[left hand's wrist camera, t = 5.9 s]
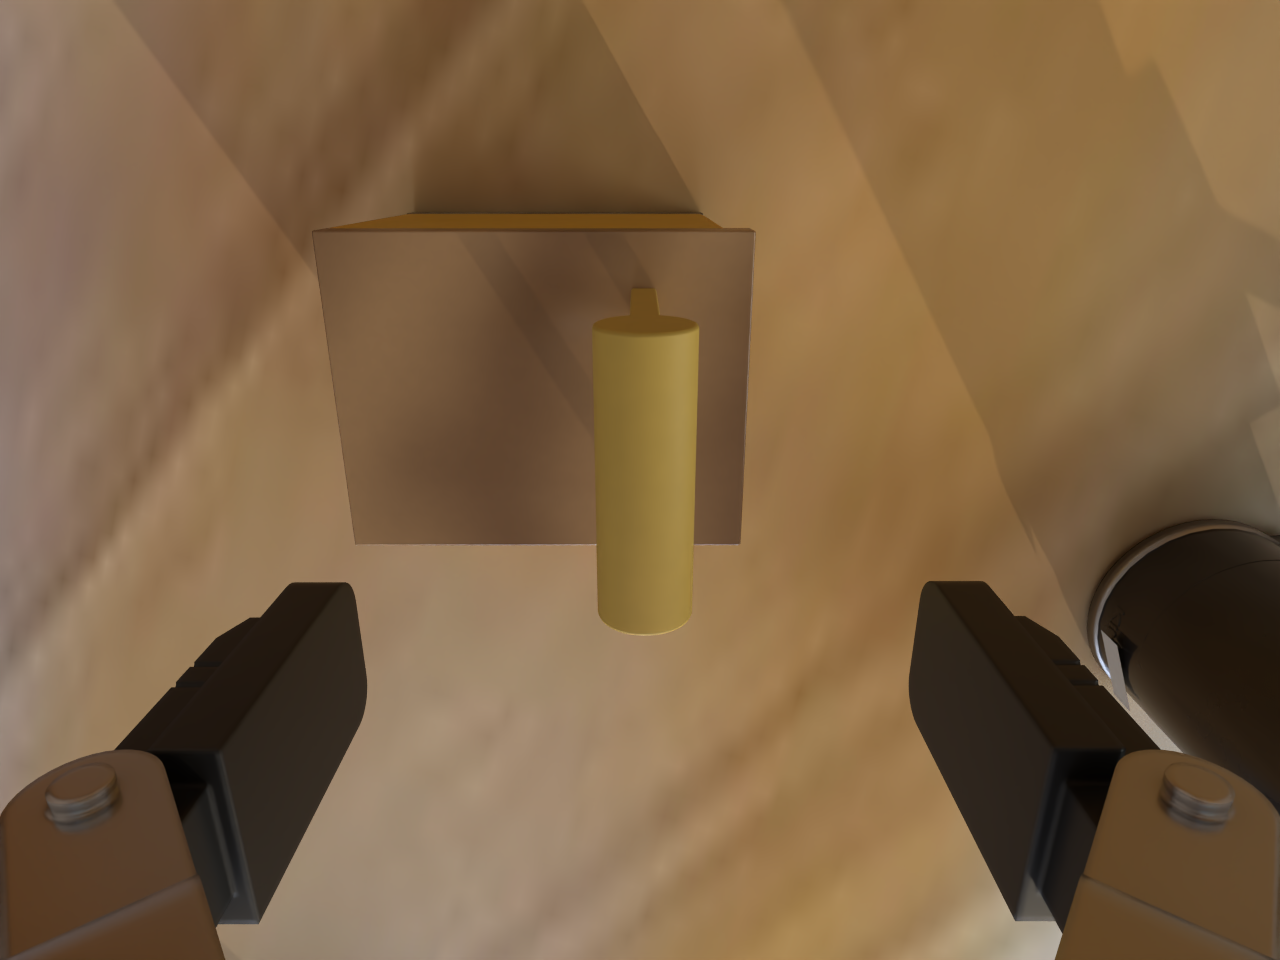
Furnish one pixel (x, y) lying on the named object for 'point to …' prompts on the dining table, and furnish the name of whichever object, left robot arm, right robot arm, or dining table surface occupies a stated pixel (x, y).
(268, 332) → the dining table surface
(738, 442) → the lid
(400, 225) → the chest
